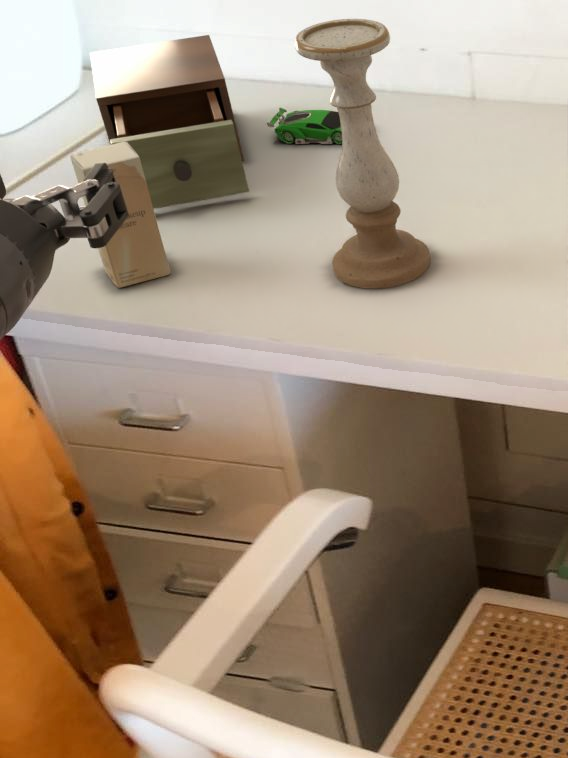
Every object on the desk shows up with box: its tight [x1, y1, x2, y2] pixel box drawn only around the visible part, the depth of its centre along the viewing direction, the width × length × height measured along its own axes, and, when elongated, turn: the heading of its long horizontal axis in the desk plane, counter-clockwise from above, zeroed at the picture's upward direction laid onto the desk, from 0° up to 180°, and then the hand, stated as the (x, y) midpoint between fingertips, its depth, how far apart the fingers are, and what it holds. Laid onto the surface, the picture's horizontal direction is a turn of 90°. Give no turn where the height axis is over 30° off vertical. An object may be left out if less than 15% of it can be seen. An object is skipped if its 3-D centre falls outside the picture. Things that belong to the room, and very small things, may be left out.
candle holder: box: [294, 18, 431, 289], centre depth 111 cm, size 9×9×20 cm
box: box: [69, 142, 171, 289], centre depth 115 cm, size 5×4×11 cm
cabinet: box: [89, 34, 245, 163], centre depth 138 cm, size 15×13×9 cm
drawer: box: [109, 88, 250, 209], centre depth 130 cm, size 15×11×7 cm
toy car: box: [266, 107, 342, 145], centre depth 140 cm, size 10×5×2 cm, turn 82°
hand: (51, 177), depth 101 cm, fingers open, 8 cm apart
